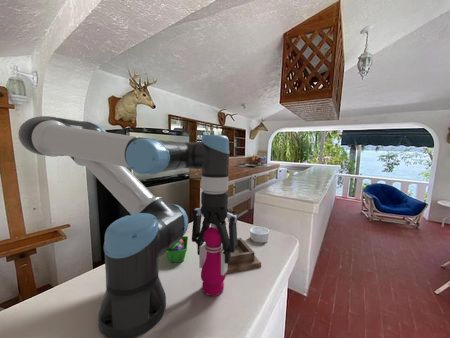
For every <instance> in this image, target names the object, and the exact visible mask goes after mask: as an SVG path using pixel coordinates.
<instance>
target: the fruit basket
mask: <svg viewBox="0 0 450 338" xmlns="http://www.w3.org/2000/svg"><path fill="white" fill-rule="evenodd" d="M188 240H189V236H186V235H184V236H183V237H182V238H181V239H180V240H179V242H177V243H175V244H174V245H173V246H172V247H171V248H170V249H168V250H167V251H166V252H165V253H166V256H167V259H168V263H179V262H184V261H185V257H186V253H187V250H188Z"/></svg>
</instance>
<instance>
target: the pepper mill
mask: <svg viewBox="0 0 450 338" xmlns="http://www.w3.org/2000/svg"><path fill="white" fill-rule="evenodd" d="M204 241H205V242H204V243H206V244H205V250H206V251H207V255H206V260H205V263H204V265H203V267H202V268H201V270H200V279H201V280H202V285H201V289H202V291H203V293H204V294H205V295H207V296H213V297H214V296H218V295H221V294H222V293H223V291H224V286H225V282H224V281H225V279H226V277H227V276H226V275H227V273H225V274H224V275H221V250H222V242H221V238H220V234H219V231H218V229H217V227H216V225H214V224H210V226H209V228H208V229H206V231H205V232H204Z"/></svg>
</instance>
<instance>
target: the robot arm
mask: <svg viewBox="0 0 450 338" xmlns="http://www.w3.org/2000/svg"><path fill="white" fill-rule="evenodd" d="M17 135H18V139H19V142H20V144H21V145H22V146H23V147H24V148H25V149H26V150H28V151H29V152H30V153H33V154H36V155H39V156H45V157H61V156H62V157H69V158H70V159H72V161H73V162H74V163H76V165H78V166H80V167H86V168H87V169H88V170H89V171H90V172H91V173H92V174H93V175H94V176H95V178H97V180H98V181H99V182H100V183H101V184H102V185H103V186H104V188H106V189H107V190H108V191H109V192H110V193H111V195H112V196H113V197H114V198H115V199H116V200H117V201H118V202H119V203H120V204H121V205H122V207H124V209H125V210H127V212H128V213H129V214H130V215H129V214H128V215H125V216H122V217H120V218H118V219H116V220H114V221H113V222H112V223H110V225H108V227H107V228H106V230H105V232H104V243H103V252H104V265H105V287H106V288H105V293H104V296H103V299H102V302H101V305H100V308H99V311H98V317H97V318H98V320H97V321H98V330H99V332H100V333H101V334H102V335H103V336H104V337H106V338H135V337H138V336H140V335H142V334H144V333H146V332H147V331H149V330H151V329H152V328H153V327H154V326H156V324H158V322H159V321H160V320H161V319H162V318H163V316H164V314H165V311H166V307H167V296H166V292H165V290H164V287H163V284H162V282H161V278H160V277H159V259H160V257H162V256H163V255H164V254H165V253H166V251H167V250H168V249H170V248H171V247H172V246H173V245H174V244H175V243H177V242H179V240H180V239H181V238H182V237H183V236H186V233H187V232H188V229H189V219H188V218H189V217H188V215H187V212H186V210H184V208H182V206H180V205H178V204H174V203H169V202H167V200H166V199H165V198H163V197H162V196H155V195H154V194H153V193H152V192H151V191H150V190H149V188H147V187H146V186H145V185H144V184H143V183H142V182H141V180H139V179H138V178H137V177H136V176H135V175H134V174H133V173H132V171H133V172H134V173H136V174H138V175H151V176H152V175H157V174H160V173H164V172H170V171H177V170H182V169H184V170H185V169H186V170H187V169H189V170H190V169H194V170H201V183H200V184H201V185H200V186H201V187H200V188H201V189H200V190H201V191H202V192H201V197H200V203H201V207H195V208H194V209H192V212H191V213H192V217H193V219H192V220H193V221H192V231H191V242H192V243H196V245H197V255H198V256H199V258H198V259H199V263H198V266H199V269H202V267H203V265H204V263H205V260H206V255H207V251H206V250H205V244H206V243H205V241H204V232H205V231H206V229H208V228H209V227H211V224H214V225H216V227H217V229H218V231H219V234H220V238H221V242H222V246H223V249H224V250H223V251H222V252H221V275H224V274H225V273H226V272H227V271H228V263H229V262H230V260H231V252H232V253H233V252H234V251H235V250H236V249H237V247H238V246H237V238H238V230H237V229H238V228H237V222H238V218H239V215H238V214H232V213H230V212H229V209H228V206H229V205H228V204H229V192H228V190H229V171H230V170H229V169H230V168H229V167H230V163H229V162H230V140H229V138H228V136H227V135H222V134H204V135H202V137H201V141H199V142H192V141H190V142H186V141H172V140H162V139H157V138H156V139H155V138H148V137H140V136H133V135H128V134H120V133H113V132H107V131H106V129H104V128H103V127H102V126H100V125H99V124H96V123H93V122H90V121H84V120H83V121H82V120H75V119H68V118H62V117H56V116H46V115H45V116H44V115H42V116H36V117H35V116H34V117H31V118H28V119H27V120H25V121H24V122H23V123H22V124H21V125H20V127H19V129H18V134H17ZM129 169H131V170H132V171H130V170H129ZM202 217H203V219H202ZM226 218H227V222H228V229H227V226H226V225H227V222H226ZM201 225H202V226H201ZM226 274H227V273H226Z"/></svg>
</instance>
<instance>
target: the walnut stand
mask: <svg viewBox="0 0 450 338" xmlns="http://www.w3.org/2000/svg"><path fill="white" fill-rule="evenodd" d="M237 246H238V247H237V249H236V250H235V251H234V252H233V253H232V252H231V260H230V262H229V263H228V271H227V272H226V274H230V273H235V272H241V271H246V270H250V269H255V268H261V267H262V262H261V261H260V260H259V258H258V257H257V256H256V255H255V254H256V253H255V251H254V250H253V249H252V248H250V246H249V245H248V244H247V243H246V242H245V240H243V238H242V237H237ZM223 250H224V249H223V246H222V250H221V252H222V251H223Z"/></svg>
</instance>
